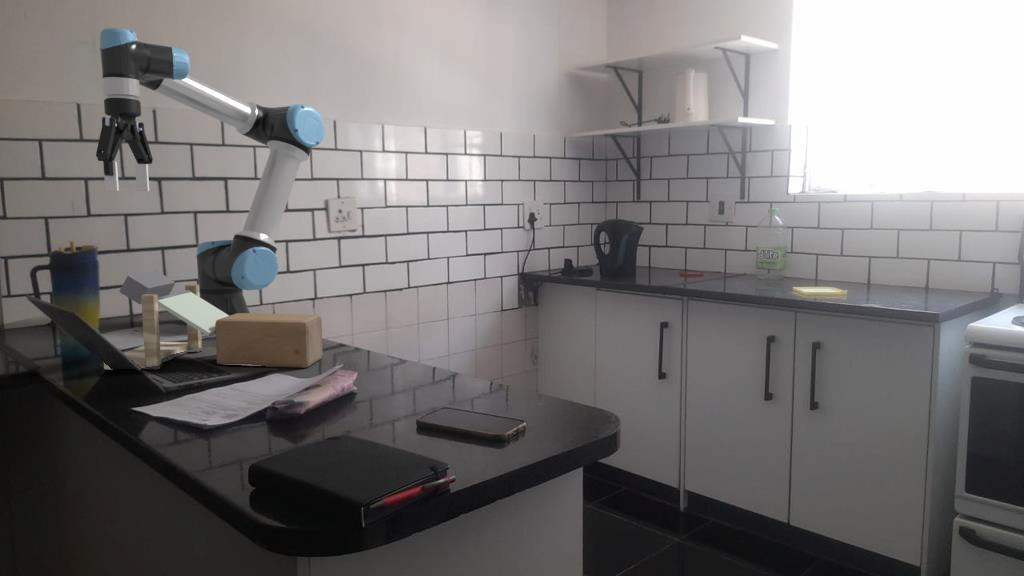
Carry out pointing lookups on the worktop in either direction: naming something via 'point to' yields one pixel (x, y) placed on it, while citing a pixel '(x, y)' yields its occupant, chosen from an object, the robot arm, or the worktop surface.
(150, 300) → the trapdoor frame
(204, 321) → the trapdoor
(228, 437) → the worktop surface
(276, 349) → the wooden block
